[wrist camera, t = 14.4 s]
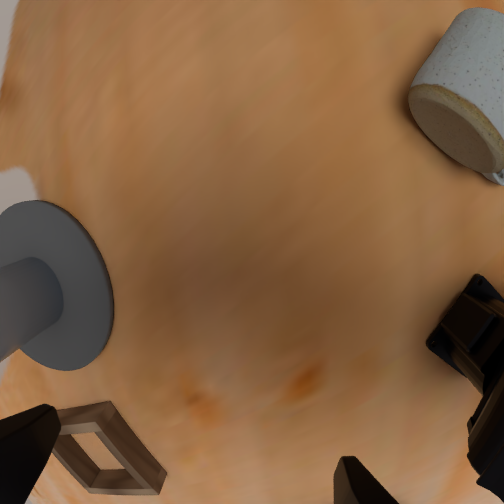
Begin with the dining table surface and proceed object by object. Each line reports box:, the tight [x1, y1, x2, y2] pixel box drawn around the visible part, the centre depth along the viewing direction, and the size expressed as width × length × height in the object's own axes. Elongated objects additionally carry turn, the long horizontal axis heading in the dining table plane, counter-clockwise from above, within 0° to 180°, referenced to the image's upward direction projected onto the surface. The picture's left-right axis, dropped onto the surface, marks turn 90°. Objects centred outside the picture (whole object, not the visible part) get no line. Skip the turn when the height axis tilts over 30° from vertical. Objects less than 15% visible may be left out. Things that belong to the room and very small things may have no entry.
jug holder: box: [52, 401, 167, 495], centre depth 23 cm, size 10×10×3 cm
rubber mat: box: [0, 200, 114, 371], centre depth 21 cm, size 14×14×1 cm
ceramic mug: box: [408, 8, 504, 186], centre depth 13 cm, size 11×8×8 cm
